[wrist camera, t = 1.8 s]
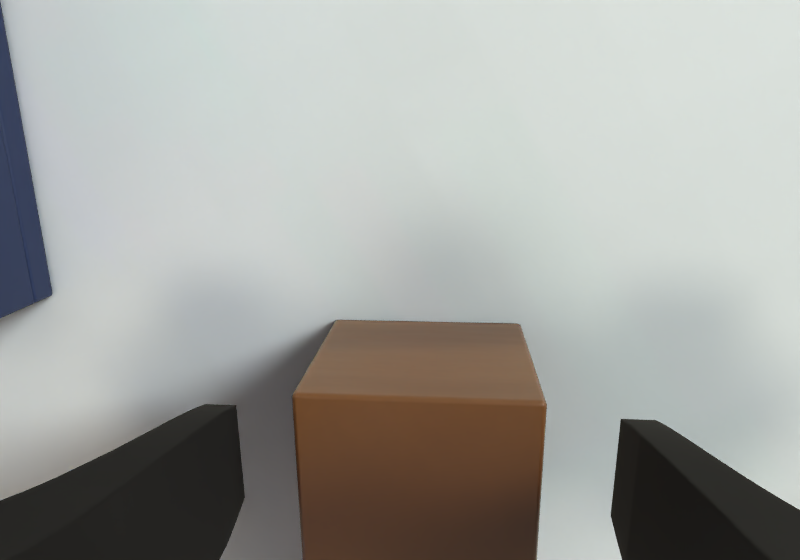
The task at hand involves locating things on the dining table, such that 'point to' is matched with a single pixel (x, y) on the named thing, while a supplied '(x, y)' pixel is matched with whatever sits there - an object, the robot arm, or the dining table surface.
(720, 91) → the dining table surface
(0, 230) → the case
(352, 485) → the block
